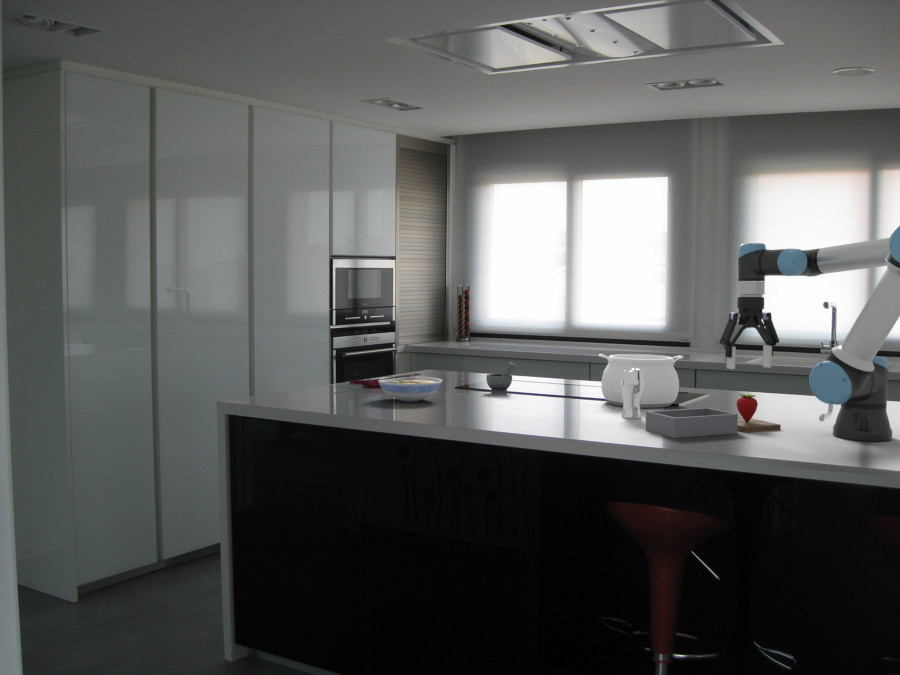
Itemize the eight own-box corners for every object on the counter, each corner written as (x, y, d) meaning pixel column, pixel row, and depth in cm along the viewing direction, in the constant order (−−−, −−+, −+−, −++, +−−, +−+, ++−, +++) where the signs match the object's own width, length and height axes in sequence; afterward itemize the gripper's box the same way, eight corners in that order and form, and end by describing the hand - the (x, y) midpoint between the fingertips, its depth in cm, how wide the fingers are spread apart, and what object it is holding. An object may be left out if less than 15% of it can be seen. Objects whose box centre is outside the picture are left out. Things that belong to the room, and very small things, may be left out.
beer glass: (626, 419, 275) (627, 371, 274) (616, 415, 281) (617, 369, 280) (646, 418, 277) (647, 370, 276) (636, 415, 283) (637, 368, 282)
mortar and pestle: (481, 393, 331) (482, 361, 330) (492, 391, 339) (492, 359, 338) (509, 396, 326) (510, 363, 325) (519, 393, 334) (520, 361, 333)
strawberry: (733, 423, 261) (734, 389, 260) (739, 419, 268) (740, 386, 267) (753, 424, 258) (754, 390, 257) (759, 421, 264) (760, 388, 264)
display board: (780, 429, 259) (780, 424, 259) (745, 432, 254) (745, 427, 254) (746, 422, 272) (747, 417, 272) (712, 424, 267) (713, 419, 267)
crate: (737, 433, 252) (737, 414, 252) (673, 438, 244) (674, 418, 243) (706, 426, 264) (707, 407, 264) (645, 430, 255) (646, 411, 255)
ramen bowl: (412, 407, 294) (412, 383, 293) (361, 401, 307) (361, 377, 307) (457, 400, 313) (457, 377, 313) (407, 394, 327) (408, 372, 327)
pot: (675, 399, 321) (677, 352, 319) (688, 410, 294) (689, 359, 293) (594, 397, 324) (596, 350, 322) (599, 408, 297) (601, 357, 296)
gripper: (774, 295, 269) (772, 365, 270) (708, 295, 259) (706, 368, 260) (792, 296, 262) (791, 367, 263) (725, 296, 252) (724, 370, 253)
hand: (749, 368), depth 262 cm, fingers open, 13 cm apart
